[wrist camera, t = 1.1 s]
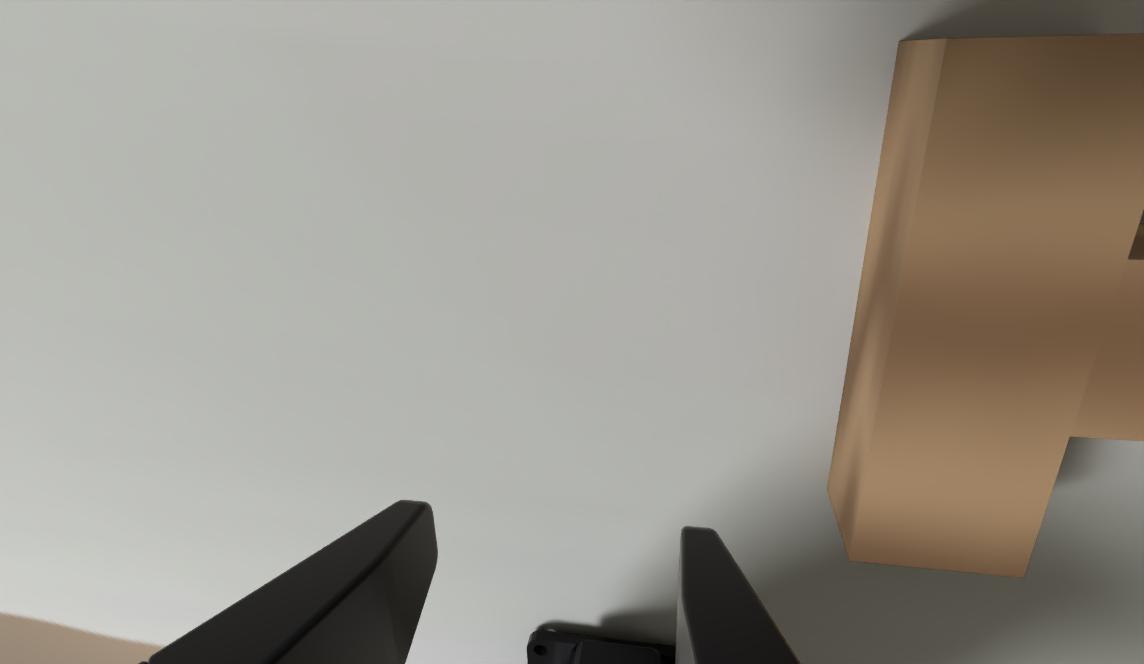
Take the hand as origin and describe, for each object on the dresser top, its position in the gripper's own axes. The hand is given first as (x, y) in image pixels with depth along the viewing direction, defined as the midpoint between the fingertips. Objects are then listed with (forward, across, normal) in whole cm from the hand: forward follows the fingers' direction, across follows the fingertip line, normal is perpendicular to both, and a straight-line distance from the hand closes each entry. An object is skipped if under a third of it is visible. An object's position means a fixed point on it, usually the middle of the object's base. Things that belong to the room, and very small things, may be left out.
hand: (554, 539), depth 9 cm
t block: (+10, -12, 0) cm, 16 cm away
